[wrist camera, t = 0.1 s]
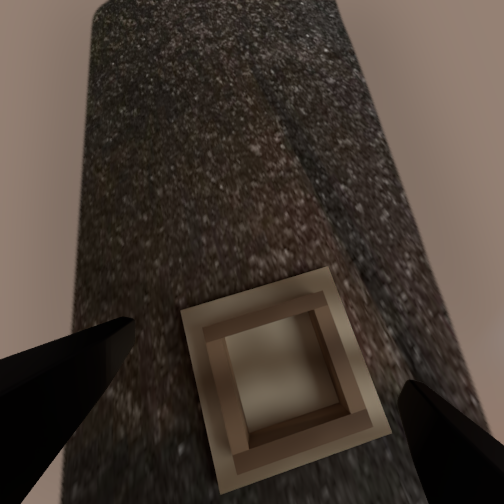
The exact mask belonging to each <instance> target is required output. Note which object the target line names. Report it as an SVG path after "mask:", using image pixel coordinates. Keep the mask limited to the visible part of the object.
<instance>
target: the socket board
mask: <svg viewBox="0 0 504 504" xmlns="http://www.w3.org/2000/svg"><path fill="white" fill-rule="evenodd" d="M181 316H182V320H183V325H184V330H185V334H186V339H187V343H188V348H189V352H190V357H191V362H192V366H193V371H194V375H195V380H196V384H197V389H198V394H199V398H200V403H201V407H202V412H203V417H204V421H205V426H206V430H207V435H208V439H209V444H210V449H211V453H212V458H213V462H214V467H215V471H216V476H217V481H218V485H219V490H220V494H224V493H226V492H229V491H232V490H235V489H238V488H240V487H243V486H246V485H249V484H251V483H254V482H257V481H260V480H263V479H265V478H268V477H271V476H274V475H277V474H279V473H282V472H285V471H288V470H290V469H293V468H296V467H299V466H302V465H304V464H307V463H310V462H313V461H316V460H318V459H321V458H324V457H327V456H329V455H332V454H335V453H338V452H341V451H343V450H346V449H349V448H352V447H355V446H357V445H360V444H363V443H366V442H368V441H371V440H374V439H377V438H380V437H382V436H385V435H388V434H391V433H392V431H391V429H390V426H389V424H388V421H387V418H386V416H385V413H384V411H383V408H382V405H381V403H380V400H379V398H378V395H377V392H376V390H375V387H374V385H373V382H372V379H371V377H370V374H369V372H368V369H367V366H366V364H365V361H364V359H363V356H362V353H361V351H360V348H359V346H358V343H357V340H356V338H355V335H354V333H353V330H352V327H351V325H350V322H349V320H348V317H347V314H346V312H345V309H344V307H343V304H342V301H341V299H340V296H339V294H338V291H337V288H336V286H335V283H334V281H333V278H332V275H331V273H330V270H329V268H328V266H327V267H324V268H320V269H317V270H314V271H310V272H307V273H304V274H300V275H297V276H294V277H290V278H287V279H284V280H280V281H277V282H274V283H270V284H267V285H264V286H260V287H257V288H254V289H250V290H247V291H244V292H240V293H237V294H234V295H230V296H227V297H224V298H221V299H217V300H214V301H211V302H207V303H204V304H201V305H197V306H194V307H191V308H187V309H184V310H181Z"/></svg>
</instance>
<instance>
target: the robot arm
mask: <svg viewBox="0 0 504 504" xmlns="http://www.w3.org/2000/svg"><path fill="white" fill-rule="evenodd" d="M134 342H135V320H134V319H133V318H128V317H119V318H116V319H114V320H111V321H108V322H105V323H102V324H99V325H97V326H94V327H91V328H88V329H85V330H82V331H80V332H77V333H74V334H71V335H68V336H66V337H63V338H60V339H57V340H54V341H51V342H48V343H45V344H43V345H40V346H37V347H34V348H31V349H28V350H26V351H23V352H20V353H17V354H14V355H11V356H9V357H6V358H3V359H0V504H21V503H22V501H23V500H24V498H25V497H26V496H27V495H28V493H29V492H30V491H31V489H32V488H33V487H34V485H35V484H36V483H37V481H38V480H39V479H40V477H41V476H42V475H43V473H44V472H45V471H46V469H47V468H48V467H49V465H50V464H51V463H52V461H53V460H54V459H55V457H56V456H57V455H58V453H59V452H60V451H61V449H62V448H63V447H64V445H65V444H66V443H67V441H68V440H69V439H70V437H71V436H72V435H73V433H74V432H75V431H76V429H77V428H78V427H79V425H80V424H81V423H82V421H83V420H84V419H85V417H86V416H87V415H88V413H89V412H90V411H91V409H92V408H93V407H94V405H95V404H96V403H97V401H98V400H99V399H100V397H101V396H102V395H103V393H104V392H105V390H106V389H107V387H108V386H109V384H110V383H111V381H112V380H113V378H114V376H115V375H116V373H117V371H118V370H119V368H120V367H121V365H122V363H123V362H124V360H125V358H126V357H127V355H128V353H129V352H130V350H131V349H132V347H133V345H134ZM397 404H398V409H399V413H400V417H401V420H402V424H403V427H404V431H405V435H406V438H407V442H408V445H409V449H410V453H411V456H412V459H413V462H414V465H415V468H416V471H417V474H418V476H419V479H420V482H421V484H422V487H423V490H424V493H425V495H426V498H427V501H428V503H429V504H504V445H503V444H501V443H500V442H499V441H497V440H496V439H495V438H494V437H492V436H491V435H490V434H489V433H487V432H486V431H485V430H483V429H482V428H481V427H480V426H478V425H477V424H476V423H474V422H473V421H472V420H471V419H469V418H468V417H467V416H465V415H464V414H463V413H462V412H460V411H459V410H458V409H456V408H455V407H454V406H453V405H451V404H450V403H449V402H447V401H446V400H445V399H444V398H442V397H441V396H440V395H438V394H437V393H436V392H435V391H433V390H432V389H431V388H429V387H428V386H427V385H426V384H424V383H422V382H419V381H415V380H407V381H406V382H405V384H404V386H403V389H402V391H401V393H400V395H399V397H398V402H397Z"/></svg>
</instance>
